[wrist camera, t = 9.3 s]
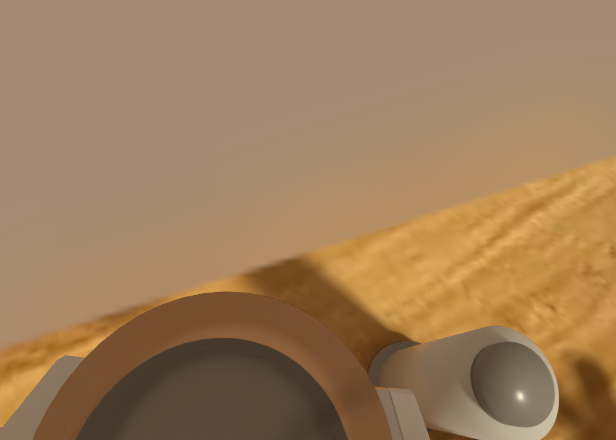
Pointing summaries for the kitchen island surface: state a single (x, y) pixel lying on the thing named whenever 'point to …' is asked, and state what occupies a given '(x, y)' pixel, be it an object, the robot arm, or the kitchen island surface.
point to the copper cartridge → (218, 378)
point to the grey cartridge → (475, 383)
